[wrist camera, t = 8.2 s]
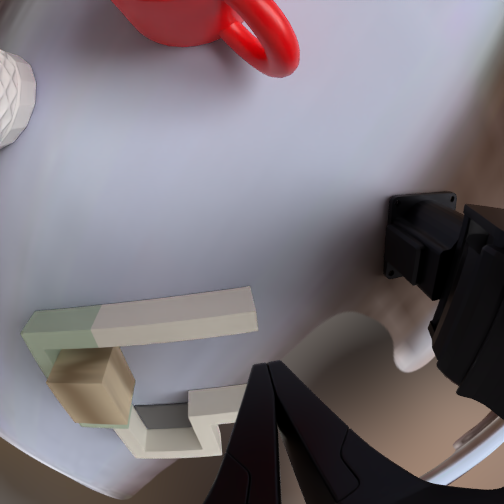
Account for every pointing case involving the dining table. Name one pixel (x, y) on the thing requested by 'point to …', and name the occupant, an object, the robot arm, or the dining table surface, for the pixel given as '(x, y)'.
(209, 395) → the angular open frame
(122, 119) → the dining table surface
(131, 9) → the mug
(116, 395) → the block
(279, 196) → the dining table surface
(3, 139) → the white cup
